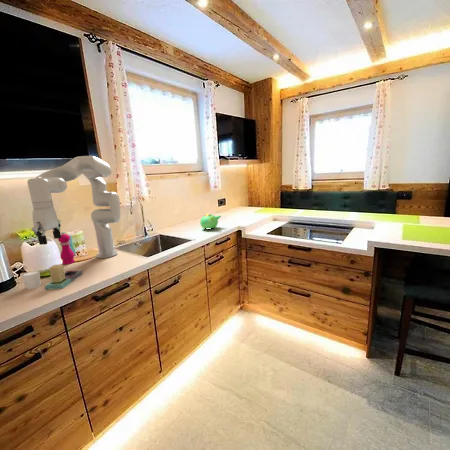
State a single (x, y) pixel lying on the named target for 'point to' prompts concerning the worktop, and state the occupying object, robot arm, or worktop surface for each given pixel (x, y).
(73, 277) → the teal and grey tray
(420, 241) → the worktop surface
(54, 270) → the nut block
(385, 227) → the worktop surface
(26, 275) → the white cylinder
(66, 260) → the pepper mill
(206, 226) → the green teapot
